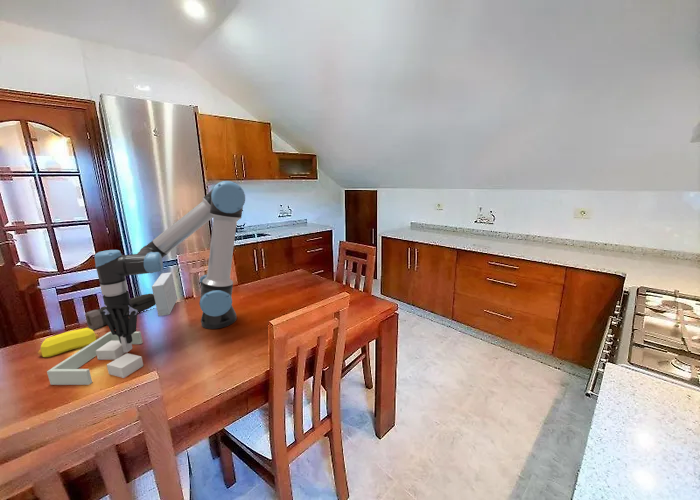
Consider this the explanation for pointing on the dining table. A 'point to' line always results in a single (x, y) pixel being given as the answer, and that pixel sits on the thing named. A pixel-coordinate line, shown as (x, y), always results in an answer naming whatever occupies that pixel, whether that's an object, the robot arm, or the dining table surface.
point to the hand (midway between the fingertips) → (128, 350)
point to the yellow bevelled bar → (67, 342)
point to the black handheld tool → (139, 302)
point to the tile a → (110, 351)
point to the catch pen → (82, 362)
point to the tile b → (125, 365)
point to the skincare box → (164, 294)
